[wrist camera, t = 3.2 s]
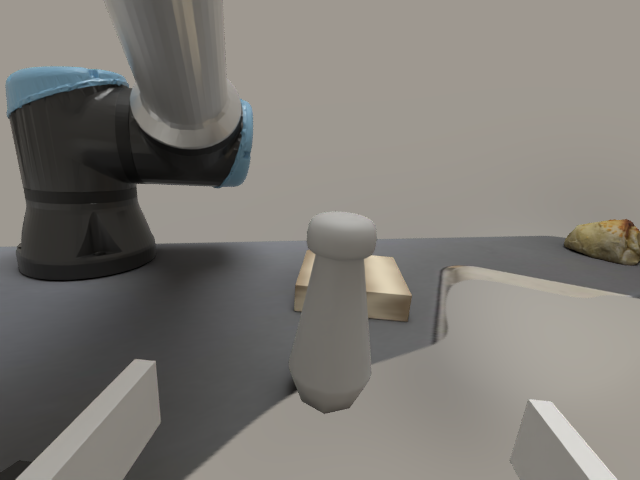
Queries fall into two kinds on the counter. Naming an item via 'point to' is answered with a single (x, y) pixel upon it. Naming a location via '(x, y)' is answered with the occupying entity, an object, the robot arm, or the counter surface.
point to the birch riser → (369, 288)
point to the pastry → (607, 241)
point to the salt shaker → (334, 314)
